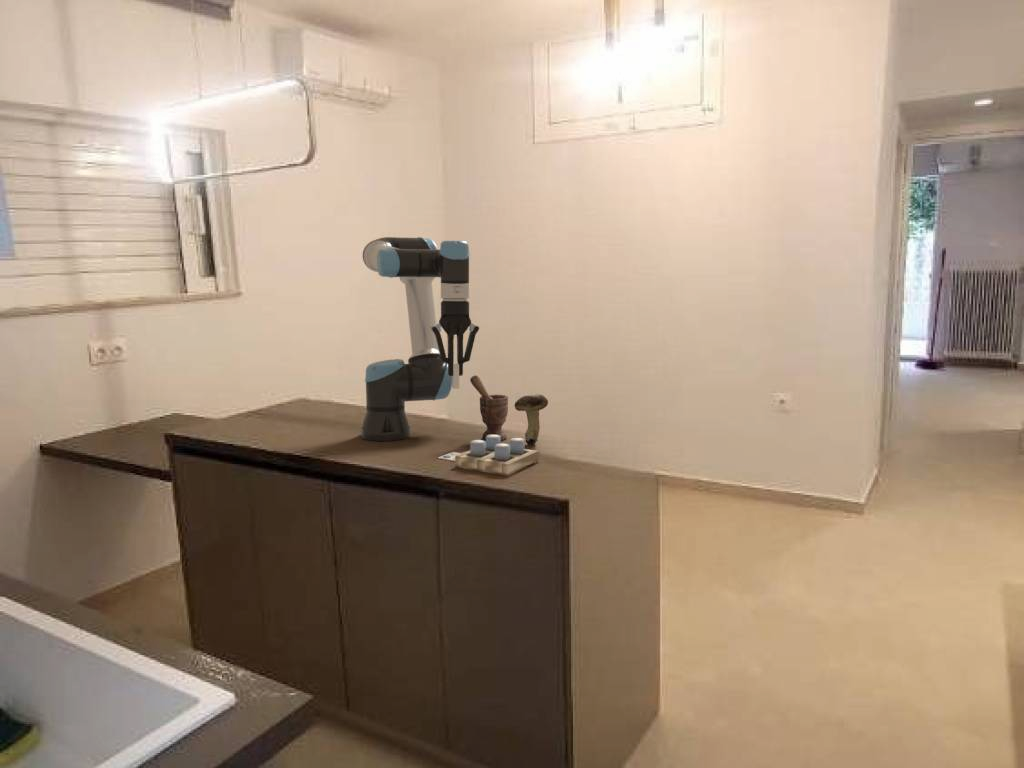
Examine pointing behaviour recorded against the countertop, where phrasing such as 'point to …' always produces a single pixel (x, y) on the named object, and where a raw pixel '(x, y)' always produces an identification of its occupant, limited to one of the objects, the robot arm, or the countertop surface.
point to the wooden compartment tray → (496, 462)
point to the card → (449, 456)
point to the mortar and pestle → (491, 409)
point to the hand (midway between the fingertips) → (455, 387)
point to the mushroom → (532, 414)
